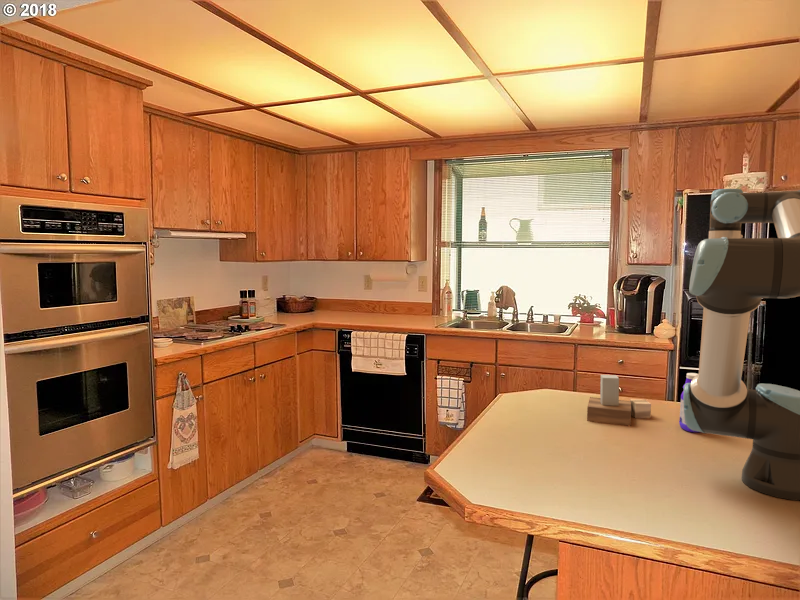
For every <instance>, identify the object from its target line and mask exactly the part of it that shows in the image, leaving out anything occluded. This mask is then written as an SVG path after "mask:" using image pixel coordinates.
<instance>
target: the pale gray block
mask: <svg viewBox="0 0 800 600" xmlns="http://www.w3.org/2000/svg"><path fill="white" fill-rule="evenodd" d="M599 392H600V396H599V398H600V402H601V404H602V405H611V406H619V400H620V399H619V396H620V378H619V376H618V375H616V374H600V391H599Z"/></svg>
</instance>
